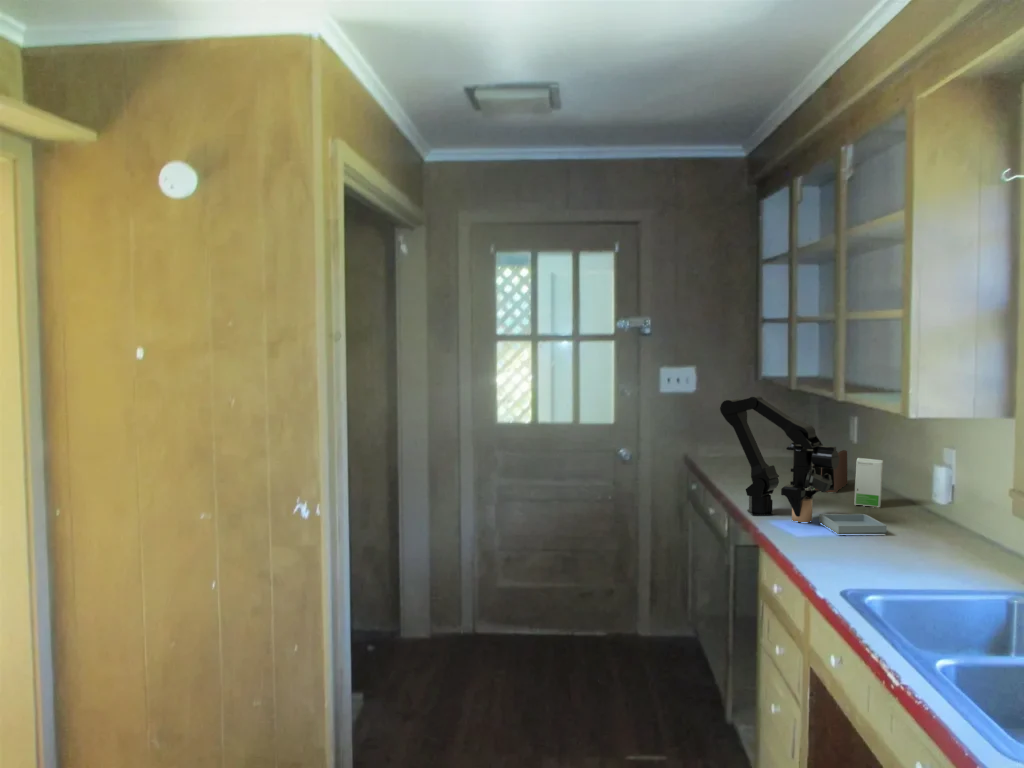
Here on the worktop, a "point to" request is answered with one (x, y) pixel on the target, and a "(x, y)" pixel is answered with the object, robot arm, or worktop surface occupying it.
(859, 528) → the tray
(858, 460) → the skincare box
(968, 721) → the worktop surface
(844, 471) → the letter holder
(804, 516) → the terracotta cup
